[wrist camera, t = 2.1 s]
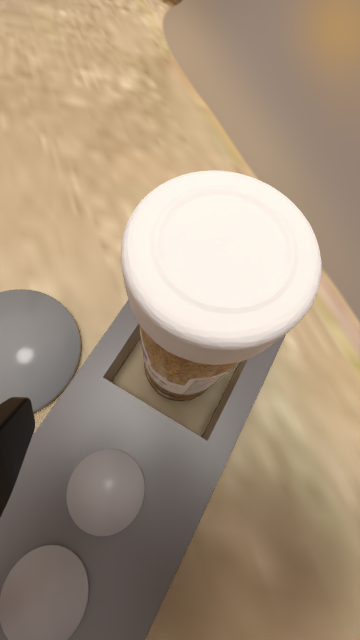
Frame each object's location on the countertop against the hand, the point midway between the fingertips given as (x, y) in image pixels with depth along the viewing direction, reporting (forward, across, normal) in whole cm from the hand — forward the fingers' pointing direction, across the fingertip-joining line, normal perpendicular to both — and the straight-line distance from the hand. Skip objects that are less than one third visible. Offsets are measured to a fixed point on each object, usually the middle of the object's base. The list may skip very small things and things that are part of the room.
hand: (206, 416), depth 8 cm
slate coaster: (+10, +10, +5) cm, 15 cm away
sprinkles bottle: (+10, 0, +5) cm, 11 cm away
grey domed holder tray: (+7, +2, +8) cm, 11 cm away
